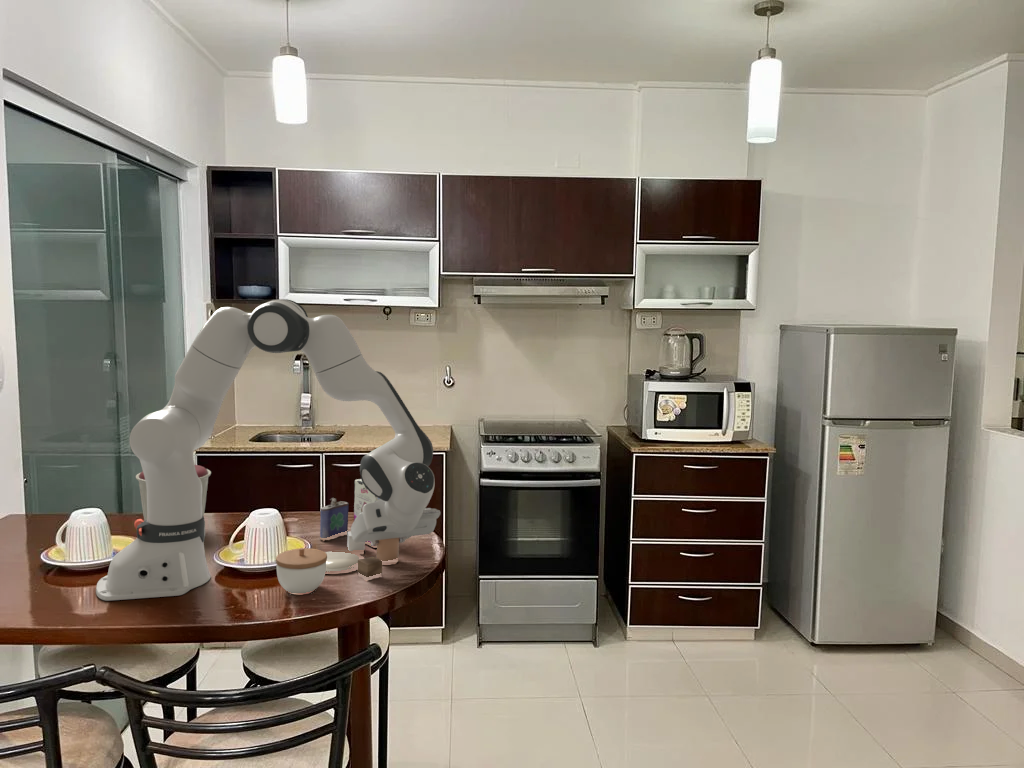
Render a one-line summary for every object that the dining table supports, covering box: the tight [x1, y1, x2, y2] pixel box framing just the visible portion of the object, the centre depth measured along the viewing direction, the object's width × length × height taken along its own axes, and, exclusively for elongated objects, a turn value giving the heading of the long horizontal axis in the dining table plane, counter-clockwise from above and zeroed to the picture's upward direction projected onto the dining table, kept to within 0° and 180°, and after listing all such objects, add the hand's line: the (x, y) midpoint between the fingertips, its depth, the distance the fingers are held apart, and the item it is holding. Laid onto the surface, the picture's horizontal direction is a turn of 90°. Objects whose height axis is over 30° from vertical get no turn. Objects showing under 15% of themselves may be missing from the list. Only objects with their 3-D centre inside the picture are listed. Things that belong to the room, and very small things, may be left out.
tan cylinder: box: [375, 538, 400, 561], centre depth 178 cm, size 5×5×10 cm
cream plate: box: [324, 550, 360, 572], centre depth 175 cm, size 14×14×1 cm
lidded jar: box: [275, 547, 327, 593], centre depth 158 cm, size 11×11×9 cm
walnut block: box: [357, 556, 383, 577], centre depth 168 cm, size 4×4×4 cm
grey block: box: [346, 530, 366, 551], centre depth 185 cm, size 4×4×5 cm
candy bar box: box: [353, 478, 381, 543], centre depth 192 cm, size 11×5×16 cm, turn 42°
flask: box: [319, 497, 350, 538], centre depth 196 cm, size 9×3×11 cm, turn 146°
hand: (387, 541), depth 179 cm, fingers closed on tan cylinder, 5 cm apart
